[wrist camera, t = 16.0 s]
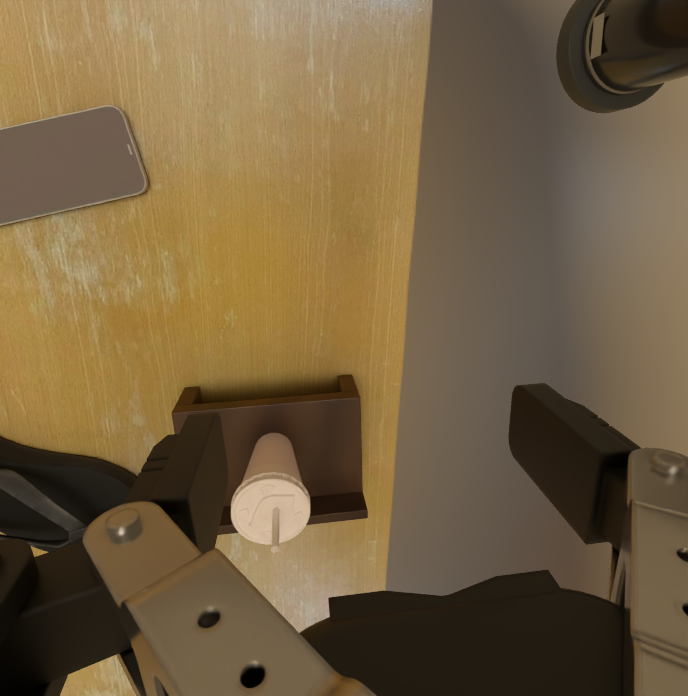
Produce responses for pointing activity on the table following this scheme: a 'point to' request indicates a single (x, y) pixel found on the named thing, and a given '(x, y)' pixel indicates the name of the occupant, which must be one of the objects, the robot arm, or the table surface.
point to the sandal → (55, 494)
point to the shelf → (295, 445)
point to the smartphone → (68, 163)
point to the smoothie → (271, 495)
